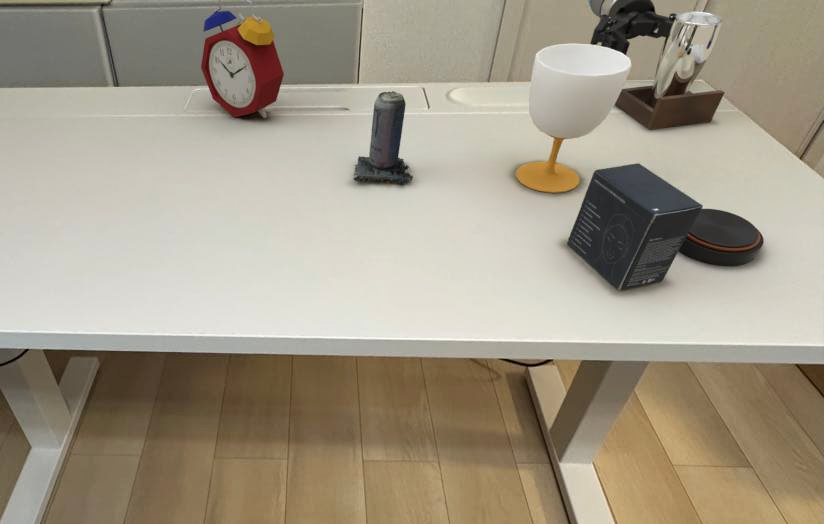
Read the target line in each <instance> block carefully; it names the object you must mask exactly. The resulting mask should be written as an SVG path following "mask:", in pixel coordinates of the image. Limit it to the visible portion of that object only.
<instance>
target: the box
mask: <svg viewBox="0 0 824 524" xmlns="http://www.w3.org/2000/svg"><path fill="white" fill-rule="evenodd" d="M586 189H587V190H586V191H585V195H584V197H583V200H582V203H581V205H580V208H579V210H578V213H577V216H576V219H575V221H574V224H573V227H572V229H571V232H570V234H569V237H568V241H567V242H566V244H567V246H569V247H570V248H571V249H572V250H573V251H575V252H576V253H577V254H578V255H579V256H580V257H581V258H583V259H584V260H585V262H586V263H588V264H589V265H590V266H591V267H592V268H593V270H595V271H596V272H597V273H598V274H600V275H601V277H603V278H604V279H605V280H606V281H607V282H609V283H610V284H611V285H612V286H613V287H614V288H615V289H616V290H618V291H624V290H627V289H635V288H637V287H643V286H647V285H653V284H656V283H661V282H663V281H664V279H665V278H666V275H667V274H668V273H669V272H668V271H669V270H670V268H671V266H672V265H673V262H674V260H675V259H676V257H677V255H678V253H679V252H680V251H679V249H680V247H681V246H682V244H683V242H684V240H685V238H686V236H687V234H688V232H689V231H690V229H691V227H692V225H693V223H694V221H695V219H696V218H697V216H698V214H699V212H700V210H701V209H703V207H704V205H703V204H701V203H700V202H698V201H697V200H696V199H694V198H692V197H691V196H689V195H688V194H686V193H685V192H683V191H681V190H680V189H679V188H678V187H676V186H674V185H673V184H671V183H670V182H668V181H667V180H665V179H663V178H662V177H661V176H659V175H657V174H656V173H654V172H653V171H651V170H650V169H648V168H647V167H645V166H644V165H642V164H640V163H639V162H638V163H632V164H631V163H629V164H624V165H618V166H612V167H606V168H598V169H595V170H594V171H593V174H592V176H591V178H590V182H589V185H588V187H587V188H586Z"/></svg>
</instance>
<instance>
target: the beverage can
mask: <svg viewBox="0 0 824 524" xmlns="http://www.w3.org/2000/svg"><path fill="white" fill-rule="evenodd" d="M406 105H407V104H406V100H405V98H404V95H403V93H400V92H397V91H394V90H392V91H383V92H381V93H379V94H378V95H377V97H376V99H375V100H374V105H373V113H372V124H371V125H372V126H371V134H370V144H369V153H368V156H358V158H357V164H355V165H354V166H355V168H354V173H353V180H354V181H355V182H357V183H362V182H364V183H367V181H375V180H378V182H380V181H382V183H388V184H389V183H390V181H392V182H393V183H395V182H396V183H397V184H398V185H403V184H405V183H408V180H407V179H409V181H414V179H413V178H414V175H411V173H409V172H406V171H408V170H409V169H411V167H410V166H409V165H407V164H406V163H405V159H404V158H401V157H399V155H400V146H401V140H402V134H403V126H404V121H405V112H406Z"/></svg>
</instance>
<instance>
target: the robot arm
mask: <svg viewBox="0 0 824 524" xmlns="http://www.w3.org/2000/svg"><path fill="white" fill-rule="evenodd" d="M587 2H588V5H589V7H590V9H591V12H592V13H593V14H594V15H595V16H596V17H598V18H599V21H598V24H597V25H596V26H595V28H594V29H593V33H592V37H591V40H590V42H589V44H591V45H596V46H597V45H598V44H599V43H601V45H600V46H602V47H607V48H610V49H613V50H616V51H619V52H621V53H623V54H624V55H626V56H627V53H628V50H629V48H630V45H631V42H630V41H629V40H632V39H635V38H637V37H639V36H640V37H649V38H654V39H659V38H666V37H667V34H668V32H669V30H670V28H671V26H672V24H673V22H674V19H675V17H676V15H677V14H678V13H675V12H672V13H670V14H669V16H665V15H661V14H657V12H656V7H655V4H654V2H653V1H652V0H587ZM656 31H657V32H656Z"/></svg>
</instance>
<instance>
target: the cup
mask: <svg viewBox="0 0 824 524" xmlns="http://www.w3.org/2000/svg"><path fill="white" fill-rule="evenodd" d="M632 66H633V65H632V61H631V58H630V57H629V56H627V54H626V55H624V54H623V53H621V52H619V51H616V50H613V49H610V48H607V47H602V46H601V45H597V44H596V45H591V44H590V43H574V42H573V43H561V44H553V45H549V46H546V47H543V48H542V49H540V50H539V51H538V52H536V53H535V56H534V61H533V67H532V71H531V77H530V86H529V96H528V114H529V116H530V119H531V121H532V124H533V125H534V126H535V128H537V129H538V130H539V132H541V133H543V134H545V135H546V136H549V137H551V138H553V143H552V147H551V151H550V154H549V157H548V159H547V161H533V162H529V163H526V164H522V165H521V166H519V167H518V168H517V169H516V172H515V178H516V179H517V180H518V181H519V183H520V184H522V185H523V186H525V187H526V188H528V189H531V190H534V191H537V192H541V193H549V194H561V193H567V192H570V191H572V190H575V189H576V188H577V187H578V186H579V185H580V176H579V174H578V173H576V171H575V170H573V169H571V168H569V167H568V166H565V165H563V164H559V163H556V162H557V158H558V155H559V152H560V149H561V147H562V144H563V142H564V141H565V140H572V139H578V138H581V137H584V136H586V135H589V134H591V133H592V132H593V131H594V130H595V129H597V128H598V127H600V125H601V124H602V123H603V122H604V121H605V120H606V119H607V117H608V116H609V114H610V113H611V111H612V110H613V108H614V107H615V106H616V105H615V103H616V101H617V99H618V97H619V95H620V92H621V90H622V89H624V87H625V84H626V81H627V79H628V76H629V74H630V72H631V69H632Z"/></svg>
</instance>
